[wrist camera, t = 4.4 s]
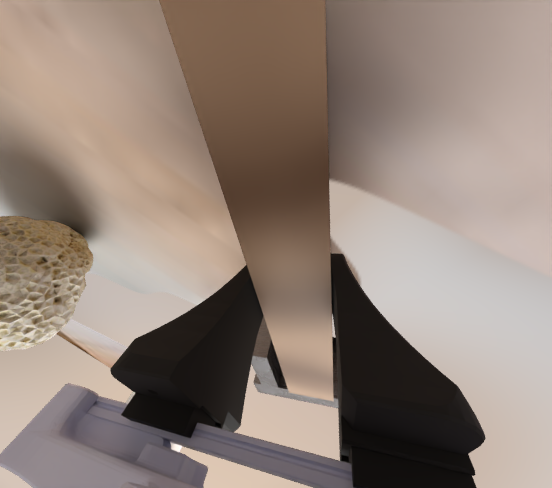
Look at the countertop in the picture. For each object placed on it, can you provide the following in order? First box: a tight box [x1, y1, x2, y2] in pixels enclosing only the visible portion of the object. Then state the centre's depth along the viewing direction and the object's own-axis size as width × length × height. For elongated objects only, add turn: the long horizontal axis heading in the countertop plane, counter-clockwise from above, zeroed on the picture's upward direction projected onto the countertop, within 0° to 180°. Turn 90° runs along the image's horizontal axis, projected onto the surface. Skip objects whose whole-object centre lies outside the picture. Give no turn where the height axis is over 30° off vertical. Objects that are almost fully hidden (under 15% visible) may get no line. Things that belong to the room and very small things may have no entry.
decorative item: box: [0, 216, 93, 351], centre depth 15 cm, size 12×9×10 cm
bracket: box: [251, 316, 338, 408], centre depth 17 cm, size 10×7×5 cm
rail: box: [159, 0, 334, 401], centre depth 11 cm, size 22×4×5 cm, turn 10°
